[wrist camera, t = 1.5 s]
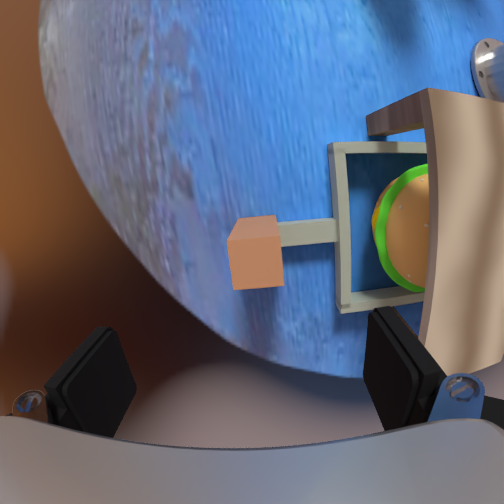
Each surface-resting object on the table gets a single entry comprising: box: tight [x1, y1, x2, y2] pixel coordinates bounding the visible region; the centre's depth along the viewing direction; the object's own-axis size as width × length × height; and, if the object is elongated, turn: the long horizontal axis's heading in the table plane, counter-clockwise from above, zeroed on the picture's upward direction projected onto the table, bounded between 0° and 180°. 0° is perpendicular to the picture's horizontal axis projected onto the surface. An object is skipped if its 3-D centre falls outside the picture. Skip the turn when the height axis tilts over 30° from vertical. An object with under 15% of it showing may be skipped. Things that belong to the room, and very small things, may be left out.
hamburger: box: [371, 164, 429, 292], centre depth 23 cm, size 12×12×9 cm
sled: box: [227, 141, 427, 314], centre depth 24 cm, size 26×16×9 cm, turn 96°
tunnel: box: [366, 88, 504, 376], centre depth 22 cm, size 10×22×12 cm, turn 6°
